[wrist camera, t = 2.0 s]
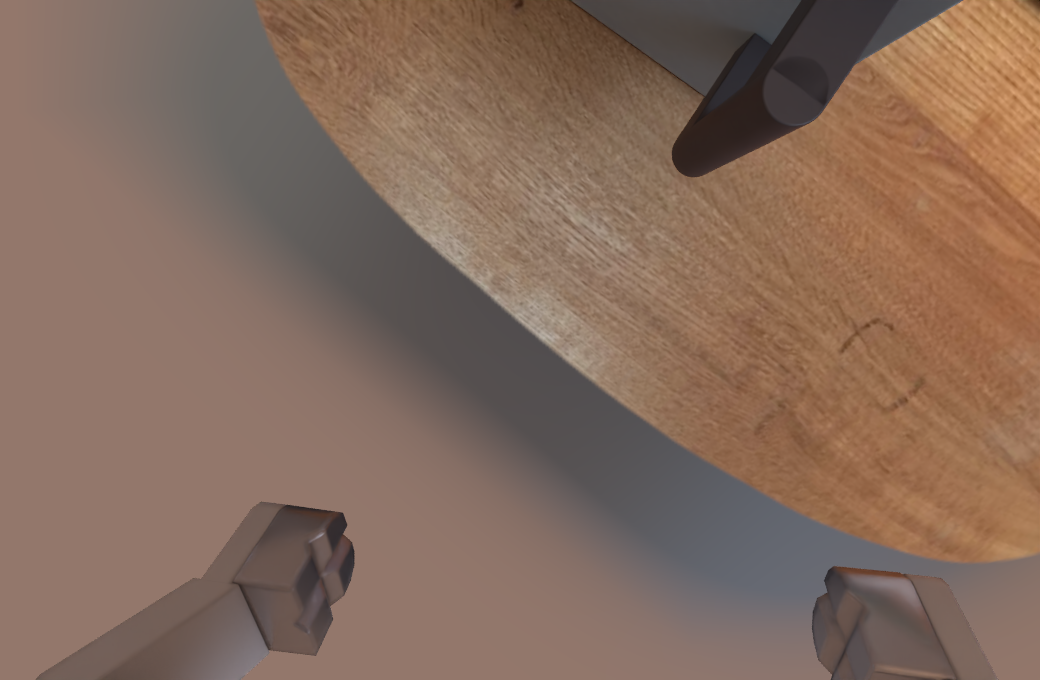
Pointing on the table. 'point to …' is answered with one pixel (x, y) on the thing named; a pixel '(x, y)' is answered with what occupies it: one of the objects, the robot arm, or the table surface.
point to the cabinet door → (757, 60)
